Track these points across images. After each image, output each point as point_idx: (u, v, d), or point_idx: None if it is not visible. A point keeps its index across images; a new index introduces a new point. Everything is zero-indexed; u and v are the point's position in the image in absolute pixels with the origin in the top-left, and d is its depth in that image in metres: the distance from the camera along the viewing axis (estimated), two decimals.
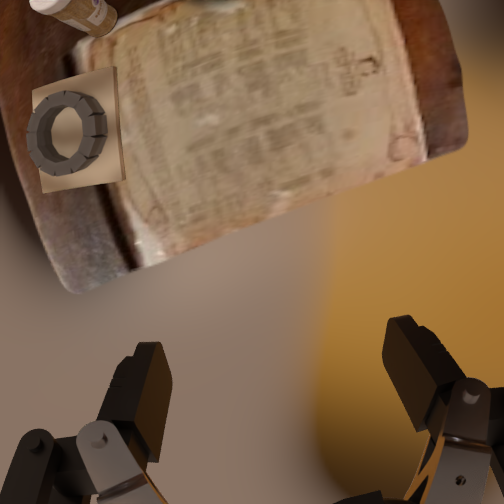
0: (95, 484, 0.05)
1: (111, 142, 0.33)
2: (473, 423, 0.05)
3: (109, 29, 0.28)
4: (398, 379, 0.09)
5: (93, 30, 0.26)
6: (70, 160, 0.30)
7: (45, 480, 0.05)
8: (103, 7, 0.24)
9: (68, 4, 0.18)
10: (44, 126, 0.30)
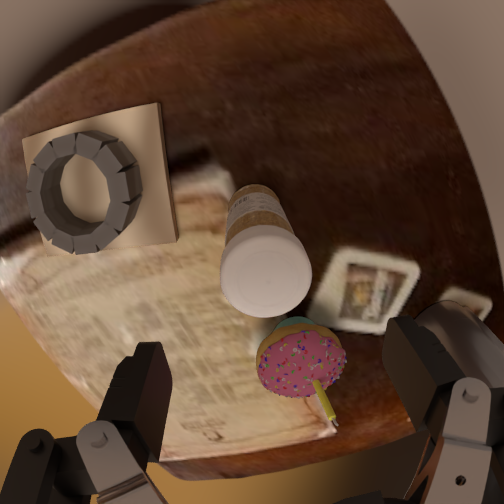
0: (95, 484, 0.05)
1: None
2: (473, 423, 0.05)
3: None
4: (398, 379, 0.09)
5: None
6: (44, 217, 0.22)
7: (45, 480, 0.05)
8: None
9: None
10: None
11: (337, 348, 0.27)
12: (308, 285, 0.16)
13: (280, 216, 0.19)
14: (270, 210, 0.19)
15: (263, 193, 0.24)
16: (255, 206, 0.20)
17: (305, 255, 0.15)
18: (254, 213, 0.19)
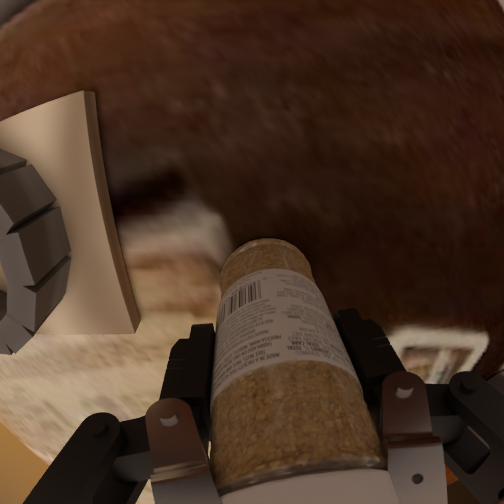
0: (153, 460, 0.06)
1: None
2: (413, 418, 0.06)
3: None
4: None
5: None
6: None
7: (100, 467, 0.05)
8: None
9: None
10: None
11: None
12: None
13: (341, 369, 0.07)
14: (318, 356, 0.07)
15: (288, 271, 0.12)
16: (279, 338, 0.08)
17: None
18: (282, 379, 0.07)
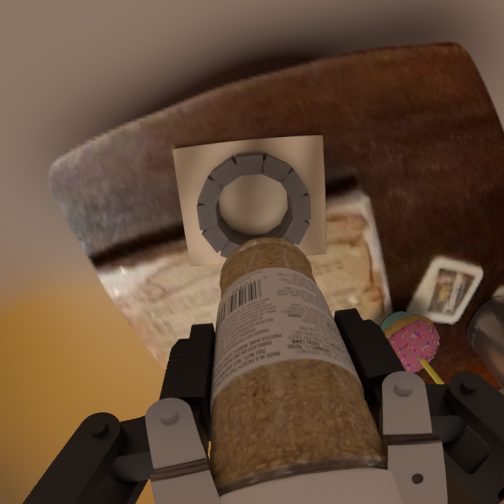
0: (153, 460, 0.06)
1: None
2: (413, 418, 0.06)
3: None
4: None
5: None
6: (217, 230, 0.28)
7: (100, 467, 0.05)
8: None
9: None
10: None
11: (437, 333, 0.33)
12: None
13: (341, 368, 0.07)
14: (318, 354, 0.07)
15: (288, 270, 0.12)
16: (280, 337, 0.08)
17: None
18: (282, 378, 0.07)
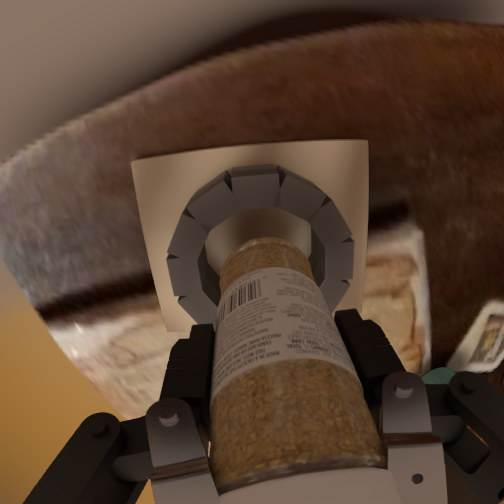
0: (153, 460, 0.06)
1: None
2: (413, 417, 0.06)
3: None
4: None
5: None
6: (202, 296, 0.17)
7: (100, 467, 0.05)
8: None
9: None
10: None
11: None
12: None
13: (341, 367, 0.07)
14: (318, 354, 0.07)
15: (288, 270, 0.12)
16: (279, 336, 0.08)
17: None
18: (281, 377, 0.07)
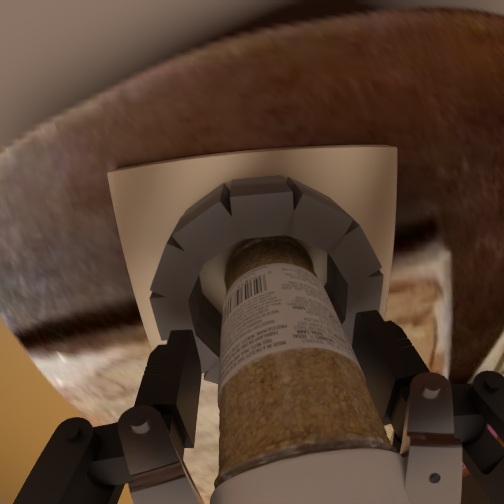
0: (129, 468, 0.05)
1: None
2: (437, 418, 0.06)
3: None
4: (365, 373, 0.10)
5: None
6: None
7: (77, 471, 0.05)
8: None
9: None
10: None
11: None
12: None
13: (344, 356, 0.08)
14: (322, 344, 0.08)
15: (292, 265, 0.12)
16: (285, 327, 0.09)
17: None
18: (288, 365, 0.07)
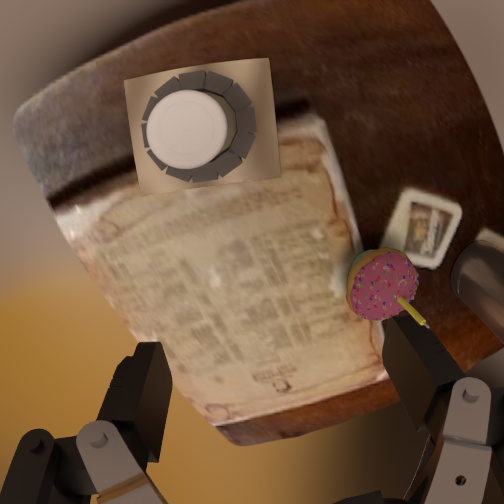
0: (95, 484, 0.05)
1: (185, 181, 0.31)
2: (472, 423, 0.05)
3: None
4: (398, 379, 0.09)
5: None
6: None
7: (45, 480, 0.05)
8: None
9: None
10: (211, 92, 0.26)
11: (414, 268, 0.31)
12: (223, 132, 0.17)
13: None
14: None
15: None
16: None
17: (218, 105, 0.16)
18: None
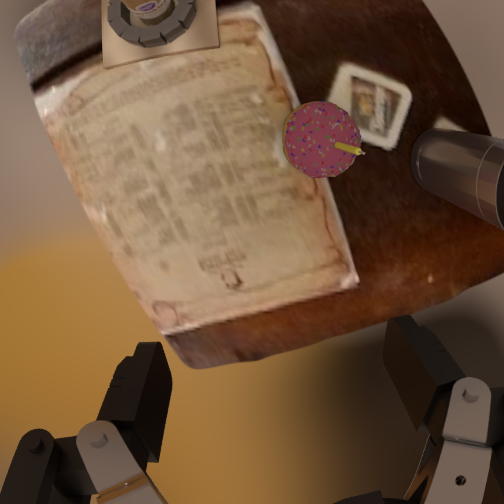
0: (95, 484, 0.05)
1: (139, 52, 0.30)
2: (472, 423, 0.05)
3: (142, 22, 0.28)
4: (398, 379, 0.09)
5: None
6: (119, 18, 0.25)
7: (45, 480, 0.05)
8: (147, 15, 0.25)
9: None
10: None
11: (352, 120, 0.31)
12: None
13: None
14: None
15: None
16: None
17: None
18: None
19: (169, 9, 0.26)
